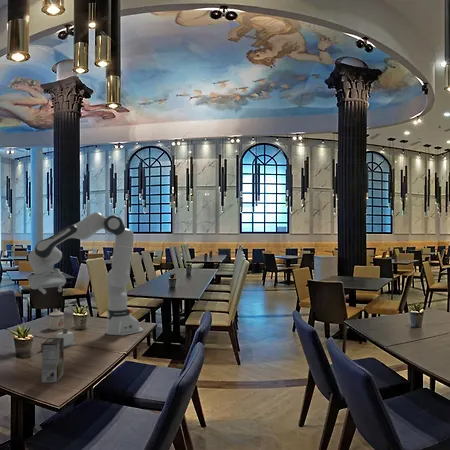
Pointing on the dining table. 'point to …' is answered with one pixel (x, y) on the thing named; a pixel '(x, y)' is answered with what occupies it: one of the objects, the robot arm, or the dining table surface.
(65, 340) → the perfume bottle
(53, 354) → the coffee box
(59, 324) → the teacup with lid
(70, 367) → the dining table surface
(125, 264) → the robot arm
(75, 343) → the felt mat
